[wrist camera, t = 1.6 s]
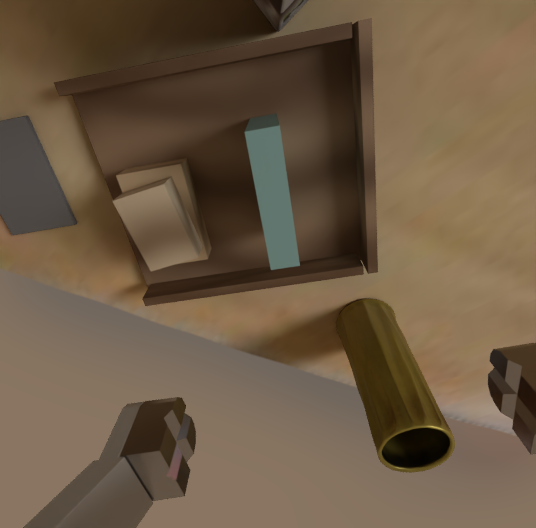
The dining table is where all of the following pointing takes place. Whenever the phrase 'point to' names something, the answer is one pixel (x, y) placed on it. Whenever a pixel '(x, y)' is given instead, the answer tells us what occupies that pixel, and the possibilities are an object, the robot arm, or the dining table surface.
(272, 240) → the teal rectangular block
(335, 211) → the brown wooden tray
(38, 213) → the mat
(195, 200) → the offcut low
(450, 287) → the dining table surface
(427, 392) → the vase
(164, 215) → the offcut top
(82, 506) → the robot arm
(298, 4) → the coffee box
